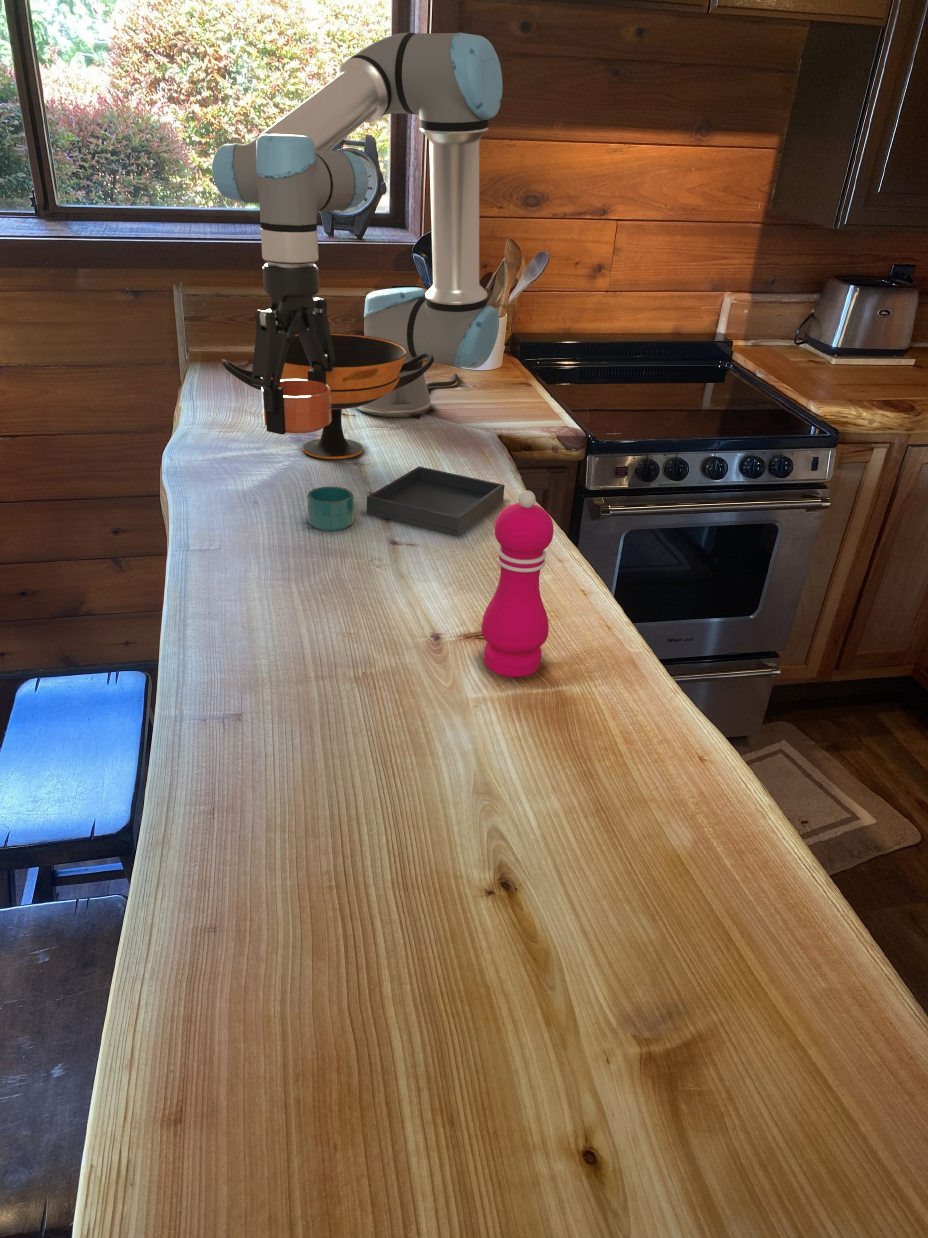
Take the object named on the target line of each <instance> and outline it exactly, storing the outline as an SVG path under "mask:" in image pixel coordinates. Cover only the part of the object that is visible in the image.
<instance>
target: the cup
mask: <svg viewBox="0 0 928 1238" xmlns="http://www.w3.org/2000/svg"><path fill="white" fill-rule="evenodd" d="M330 334H331V339H332V344H333V350H334V355H335V363H334V364H330V365H333V370H332V372H328V371H326V384H327V385H328V386H329V387H330V388H331V417H332V421H331V423H330V424H329V425H328V426H325V427H324V428H322V430H321V431H322V432H321V436H320V438H318V439H317V438H316V439H312V440H309V441H307V442H306V443H304V445H303V446H302V450H303V452H304V454H306V455H308V456H311V457H313V458H318V459H325V460H341V459H349V458H353V457H356V456H358V455H360V454H362V452H363V445H362V444H361V443H359V442H357V441H355V440H352V439H347V438H346V437H345V435H344V430H343V425H342V424H343V423H342V412H343V410H348V409H354V408H357V407H359V406H362V405H365V404H368V403H371V402H373V401H375V400H377V399H379V398H381V397H382V396H384V395H386V394H388V393H389V392H391V391H393V390H395V389H397V388H400V387H402V386H404V385H407V384H409V383H411V382H412V381H414V380H416V379H417V378H419V377H420V376H421V375H422V374H425V373H426V372H427V371H428V370H429V369H430V368H431V366H432V365H433V364H434V363H433V361H434V357H433V355H432V354H431V353H423V354H421V355H419V356H417V357H415V358H414V359H412V360H410V361H408V362H406V363H404V361H405V358H406V356H407V350H406V349H405V348H404V347H403V346H401V345H400V344H398V343H395V342H392V341H389V340H385V339H381V338H377V337H371V336H365V334H364V335H363V334H354V333H342V332H341V333H339V332H330ZM252 348H253V349H252V351H253V352H254V349H255V345H253V347H252ZM324 354H325V355H327V353H324ZM426 357H429V358H430V359H429V361H428V362H427V361H426V363H425V364H424V365H423V367H422V368H420V369H419V370H417V371H415V372H413V373H411V374H408V375H405V376H403V377H399V373H401V372H403V371H405V370H407V369H409V368H410V367H412V366H413V365H415V364H416V363H417V362H419V361H420V360H422V359H424V358H426ZM220 361H221V365H222V367H224V368H225V370H226V371H228V372H229V373H230V374H231V375H233V376H234V377H235V378H237V379H238V380H239V381H241V382H242V383H244V384H245V385H247V386H250V387H252V388H254V389H256V390H259V391H261V387H260V386H256V385H253V384H252V383H251V378H252V370H249V369H246V368H244V367H243V368H242V367H240V366H238V365H236V364H234V363H232V362H230V361H229V360H227V359H224V358H223V359H221V360H220ZM403 363H404V364H403ZM309 370H314V369H312V368H311V366H310V363H309V361H308V358H307V356H306V353H305V351H304V348H303V346H302V343H301V341H300V338H299V336H298V334H297V335H295V337H294V341H293V342H292V343H290V345H289V349H288V353H287V357H286V360H285V364H284V368H283V372H282V376H281V380H288V379H304V380H308V371H309ZM260 377H261V376H260ZM272 379H273V378H272ZM272 379H271V380H272Z"/></svg>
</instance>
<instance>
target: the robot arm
mask: <svg viewBox="0 0 928 1238" xmlns="http://www.w3.org/2000/svg"><path fill="white" fill-rule="evenodd" d="M501 67H502V66H501V63H500V60H499V56H498V54H497V52H496V50H495V48H494V45H493V44H492V43H491V42H490V41H489V40H488V39H487V38H486V37H485V36H483V35H480V34H479V35H478V34H472V33H465V32H447V33H446V32H445V33H444V32H440V33H437V32H435V33H434V32H433V33H429V32H428V33H427V32H425V33H424V32H423V33H422V32H416V33H415V32H400V33H395V34H392V35H390V36H387V37H384V38H381V39H379V40H377V41H375V42H373V43H371V44H370V45H368V46H365V47H364V48H363V49H360V50H359V51H358V52H356V53H354V54H353V55H351V56H350V57H349V58H348V59H347V60H345V61H343V62H342V63H341V65H340V66H339V68H338V69H337V72H336V76H335V78H333V79H332V80H330V81H329V82H328V83H327V84H325V85H323V86H322V87H321V88H319V90H317V91H316V92H315V93H313V94H312V95H310V97H307V99H306V100H304V101H302V102H301V103H300V104H298V105H297V106H296V107H295V108H293V109H292V110H291V111H289V112H288V113H286V114H285V115H284V116H283V117H282V118H280V119H279V120H278V121H276V122H275V123H274V124H272V125H271V126H269V127H268V128H267V129H266V130H264V131H263V132H261V133H260V134H259V135H257V136H256V137H255V138H254V139H252V140H251V141H249V142H247V143H244V144H242V143H240V142H234V143H225V144H223V145H221V146H219V147H218V148H217V149H216V151H215V153H214V155H213V159H212V163H211V164H212V166H211V172H212V178H213V180H214V185H215V187H216V189H217V191H218V192H219V193H220V195H221V196H223V197H224V198H226V199H228V200H231V201H236V202H241V203H244V204H258V206H259V207H258V208H259V216H260V217H259V218H260V220H259V222H260V223H259V226H260V239H261V258H262V259H263V260H264V261H265V263H264V264H263V266H262V279H263V280H262V282H263V291H264V292H265V293H266V294H268V295H269V298H270V304H269V308H268V309H266V310H261V309H257V310H256V311H255V313H254V316H255V318H254V319H255V326H256V330H255V331H256V332H255V340H254V346H255V349H254V351H253V359H252V368H251V369H252V370H251V371H252V378H251V383H252V384H253V385H256V386H260V387H262V389H263V397H264V409H265V411H266V424H267V425H266V432H268V433H273V434H277V435H282V436H283V435H285V434H287V433H286V432H285V413H284V394H283V388H280V387H279V384H280V380H281V376H282V372H283V368H284V364H285V360H286V357H287V353H288V349H289V345H290V343H292V342H293V341H294V337H295V335H297V334H298V336H299V338H300V341H301V343H302V346H303V348H304V351H305V353H306V356H307V358H308V361H309V363H310V366H311V368H312V369H314V370H309V371H308V380H313V381H318V382H322V383H324V384H326V371H328V372H332V370H333V365H330V364H334V363H335V355H334V350H333V344H332V339H331V334H330V333H331V329H330V324H329V319H328V301H327V299H325V298H321V297H314V296H315V295H317V294H319V291H320V275H319V273H320V272H319V267H318V265H317V264H315V263H316V262H318V261H319V238H318V236H319V235H318V224H317V223H318V222H317V220H318V217H317V216H318V215H317V213H322V212H331V211H332V212H334V211H340V212H345V211H346V210H348V209H353V208H355V207H358V206H359V205H360V204H361V203H362V202H363V201H364V199H365V198H366V195H367V193H368V189H369V173H368V170H367V168H366V166H365V164H364V162H363V161H362V159H361V158H360V157H359V156H357V155H356V154H355V153H353V152H351V151H346V150H342V149H340V150H338V149H334V148H335V147H336V146H337V145H338V144H340V143H341V142H342V141H343V140H345V139H346V138H347V137H348V136H350V135H351V134H352V133H353V132H354V131H355V130H357V129H358V128H359V127H361V126H362V125H363V124H364V123H374V122H376V121H378V120H380V119H381V118H382V117H383V116H387V115H393V114H397V115H398V114H402V115H403V114H404V115H406V114H407V115H417V116H418V115H419V116H418V117H419V130H420V132H421V133H422V134H423V135H424V136H425V137H426V138H427V140H428V141H429V142H428V144H429V145H428V147H429V148H428V149H429V150H428V151H429V183H430V188H429V189H430V218H431V219H430V220H431V221H430V222H431V224H430V225H431V254H432V255H431V257H432V258H431V259H432V285H431V286H430V288H428V289H427V291H425V289H424V288H423V287H422V288H421V287H415V286H414V287H410V286H409V287H394V288H386V289H385V288H384V289H378V290H373V291H371V292H369V293H368V294H367V295H366V297H365V300H364V311H363V312H364V313H363V318H364V319H363V320H364V321H363V322H364V323H363V324H364V336H371V337H377V338H381V339H385V340H389V341H392V342H395V343H398V344H400V345H401V346H403V347H404V348H405V349H406V350H407V356H406V358H405V361H404V363H406V362H408V361H410V360H412V359H414V358H415V357H417V356H419V355H421V354H423V353H431V354H432V355H433V357H434V361H433V364H440V365H445V366H451V367H455V368H457V369H461V368H463V369H464V368H465V369H478V368H480V367H482V366H483V365H485V363H486V362H487V361H488V359H489V358H490V356H491V354H492V352H493V350H494V347H495V346H496V342H497V339H498V334H499V329H500V316H499V312H498V310H497V309H496V308H495V307H493V306H492V305H488V292H487V290H486V289H485V288H484V287H483V286H482V285H481V284H480V161H481V160H480V149H481V148H480V146H481V145H480V143H481V142H480V141H481V139H482V137H483V136H484V135H485V134H486V133H487V131H488V130H489V128H490V127H489V123H490V119H492V118H494V117H495V116H497V114H498V113H499V111H500V108H501V101H502V99H503V75H502V73H503V72H502V68H501ZM324 353H327V355H325V354H324ZM429 359H430V358H429V357H426V358H424V359H422V360H420V361H419V362H417V363H416V364H415V365H413V366H412V367H410V368H409V369H407V370H405V371H403V372H401V373H399V377H403V376H405V375H408V374H411V373H413V372H415V371H417V370H419V369H420V368H422V367H423V366H424V365H423V364H424V363H423V362H426V363H427V362H428V361H429ZM404 363H403V364H404ZM260 376H261V377H260ZM452 376H453V377H452V380H447V381H432V382H428V383H427V382H426V379H425V373H423V374H422V375H421V376H420V377H419V378H417V379H416V380H414V381H412V382H411V383H409V384H407V385H404V386H402V387H400V388H397V389H395V390H393V391H391V392H389V393H388V394H386V395H384V396H382V397H381V398H379V399H377V400H375V401H373V402H371V403H368V404H365V405H362V406H359V407H356V409H357V410H359V411H360V412H363V413H365V414H369V415H372V416H378V417H385V418H407V417H408V418H409V417H416V416H420V415H421V416H422V415H424V414H426V413H427V412H429V411H430V410H431V397H430V392H429V388H431V387H448V386H449V387H450V386H453V385H455V384H456V383H457V381H458V380H459V376H458V374H457V372H455V373H453V375H452ZM272 378H273V379H272ZM271 379H272V380H271Z"/></svg>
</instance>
